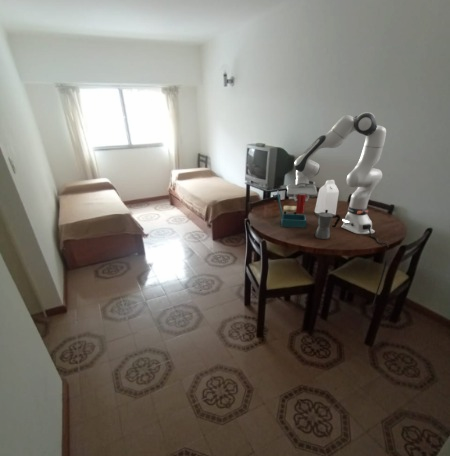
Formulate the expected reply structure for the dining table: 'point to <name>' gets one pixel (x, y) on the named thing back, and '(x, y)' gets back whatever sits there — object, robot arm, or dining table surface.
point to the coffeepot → (325, 224)
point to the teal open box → (293, 220)
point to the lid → (279, 202)
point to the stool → (290, 209)
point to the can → (300, 203)
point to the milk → (327, 198)
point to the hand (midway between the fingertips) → (301, 201)
